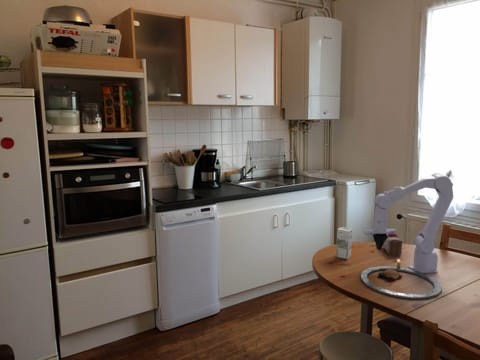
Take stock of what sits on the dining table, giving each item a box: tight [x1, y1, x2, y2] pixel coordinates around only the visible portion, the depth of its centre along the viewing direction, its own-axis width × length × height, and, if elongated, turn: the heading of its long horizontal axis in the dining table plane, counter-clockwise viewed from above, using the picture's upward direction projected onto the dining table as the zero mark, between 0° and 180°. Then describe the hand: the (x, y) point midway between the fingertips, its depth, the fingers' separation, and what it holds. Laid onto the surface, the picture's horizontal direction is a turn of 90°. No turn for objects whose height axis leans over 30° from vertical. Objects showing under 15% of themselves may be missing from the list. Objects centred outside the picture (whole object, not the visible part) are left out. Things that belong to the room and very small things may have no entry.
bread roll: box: [377, 269, 403, 283], centre depth 171 cm, size 11×8×4 cm
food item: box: [382, 233, 403, 257], centre depth 202 cm, size 14×8×10 cm, turn 175°
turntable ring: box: [360, 258, 443, 300], centre depth 167 cm, size 31×36×3 cm
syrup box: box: [336, 226, 353, 260], centre depth 193 cm, size 6×6×14 cm
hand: (378, 249), depth 181 cm, fingers closed
